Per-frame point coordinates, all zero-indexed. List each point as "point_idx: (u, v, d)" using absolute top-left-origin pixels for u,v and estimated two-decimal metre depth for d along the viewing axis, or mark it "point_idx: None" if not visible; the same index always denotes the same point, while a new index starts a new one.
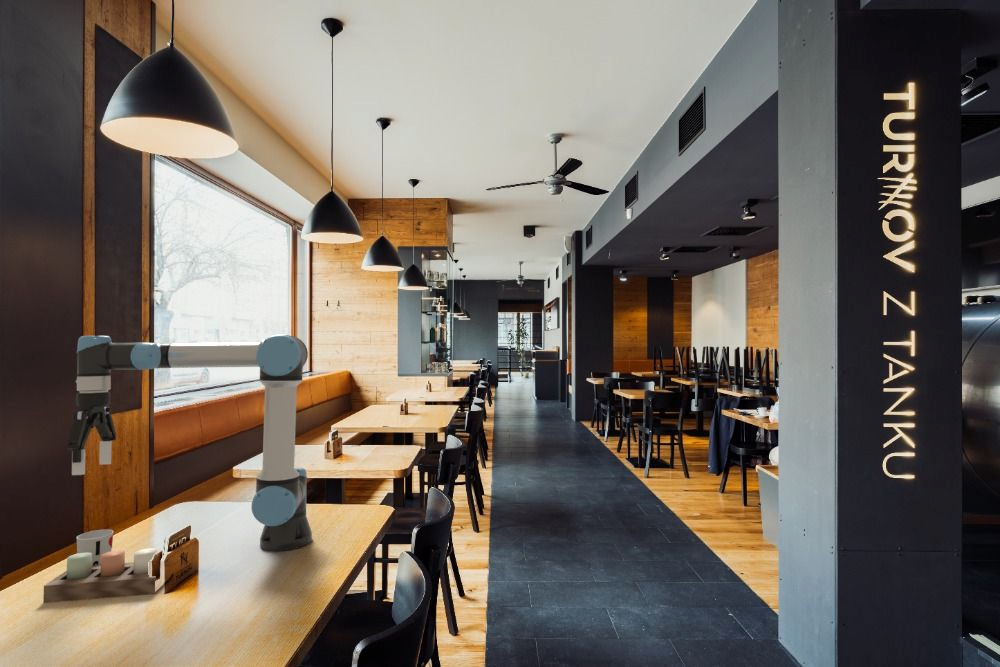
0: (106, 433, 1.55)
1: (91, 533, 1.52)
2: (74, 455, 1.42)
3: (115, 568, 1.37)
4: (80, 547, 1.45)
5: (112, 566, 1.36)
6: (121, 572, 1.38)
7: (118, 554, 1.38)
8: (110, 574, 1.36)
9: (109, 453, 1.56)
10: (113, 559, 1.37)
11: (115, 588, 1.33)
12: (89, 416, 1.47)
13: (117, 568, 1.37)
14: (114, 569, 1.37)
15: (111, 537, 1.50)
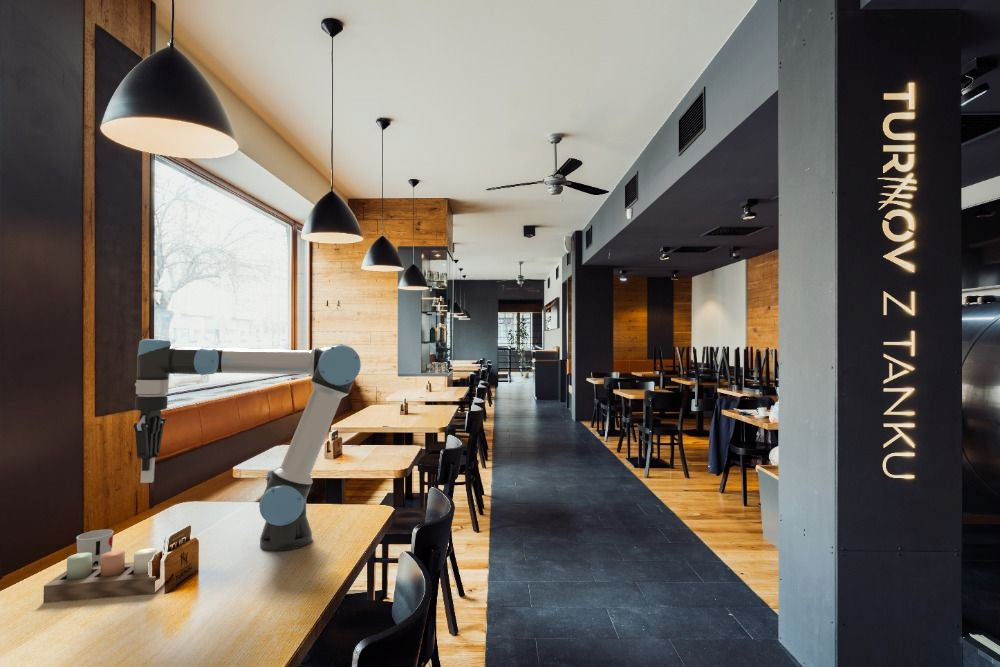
0: (153, 444, 1.50)
1: (91, 533, 1.52)
2: (143, 463, 1.47)
3: (115, 568, 1.37)
4: (80, 547, 1.45)
5: (112, 566, 1.36)
6: (121, 572, 1.38)
7: (118, 554, 1.38)
8: (110, 574, 1.36)
9: (152, 470, 1.49)
10: (113, 559, 1.37)
11: (115, 588, 1.33)
12: (148, 421, 1.46)
13: (117, 568, 1.37)
14: (114, 569, 1.37)
15: (111, 537, 1.50)
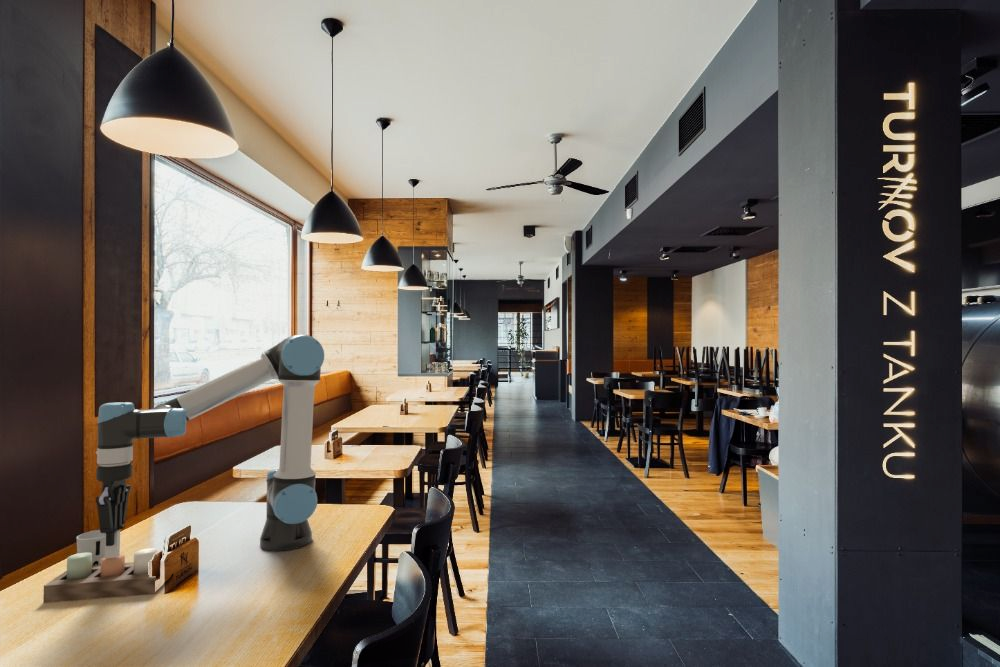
0: (118, 515, 1.40)
1: (91, 533, 1.52)
2: (107, 538, 1.37)
3: (115, 572, 1.37)
4: (80, 547, 1.45)
5: (112, 570, 1.36)
6: None
7: (118, 558, 1.38)
8: None
9: None
10: (113, 563, 1.37)
11: (115, 588, 1.33)
12: (111, 493, 1.36)
13: (117, 572, 1.37)
14: (114, 573, 1.37)
15: None
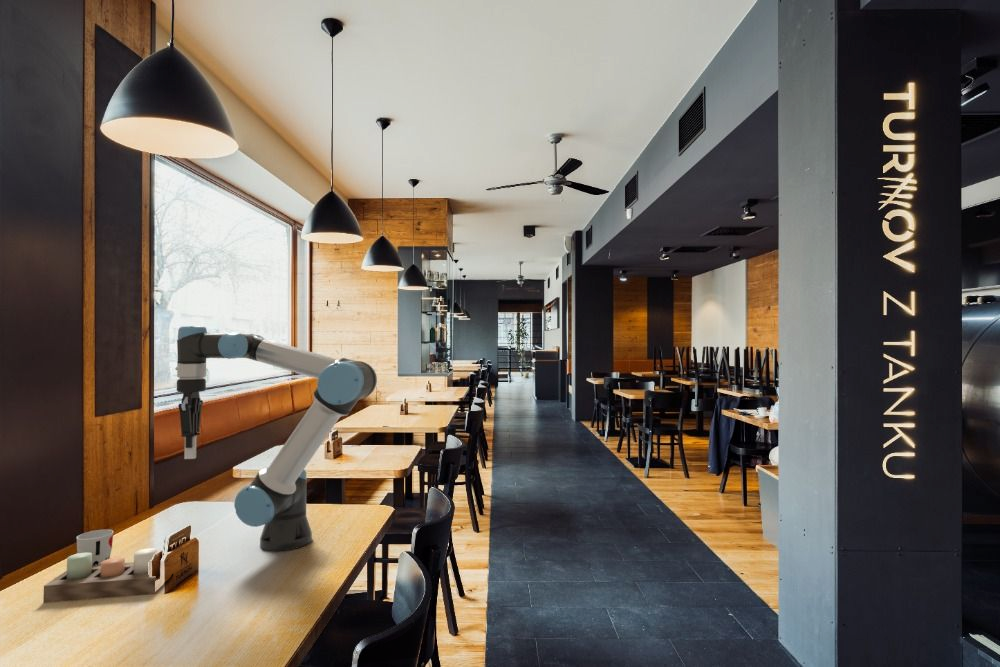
0: (194, 423, 1.62)
1: (91, 533, 1.52)
2: (187, 441, 1.59)
3: (115, 575, 1.37)
4: (80, 547, 1.45)
5: (112, 573, 1.36)
6: None
7: (118, 561, 1.38)
8: None
9: None
10: (113, 566, 1.37)
11: (115, 588, 1.33)
12: (190, 401, 1.59)
13: (117, 575, 1.37)
14: None
15: (111, 537, 1.50)
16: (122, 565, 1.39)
